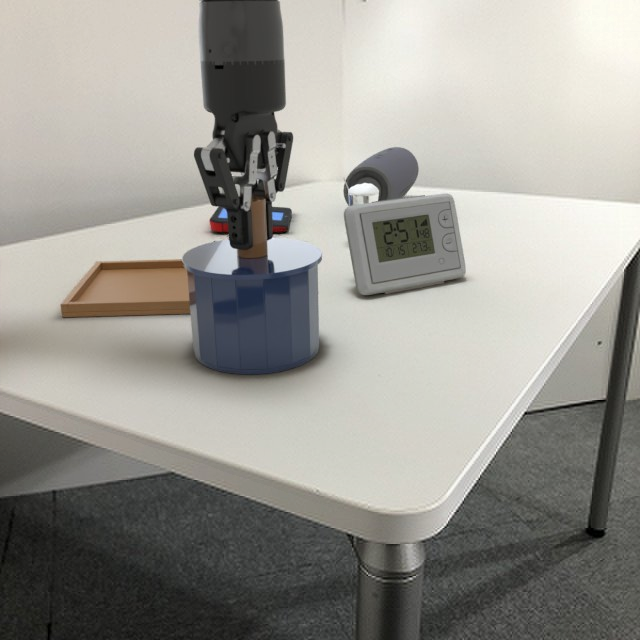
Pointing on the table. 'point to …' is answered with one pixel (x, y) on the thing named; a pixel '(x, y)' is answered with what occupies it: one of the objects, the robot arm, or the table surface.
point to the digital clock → (404, 243)
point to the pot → (255, 322)
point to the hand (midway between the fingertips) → (251, 243)
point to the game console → (279, 221)
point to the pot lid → (253, 254)
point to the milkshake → (362, 193)
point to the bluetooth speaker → (386, 173)
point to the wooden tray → (130, 289)
